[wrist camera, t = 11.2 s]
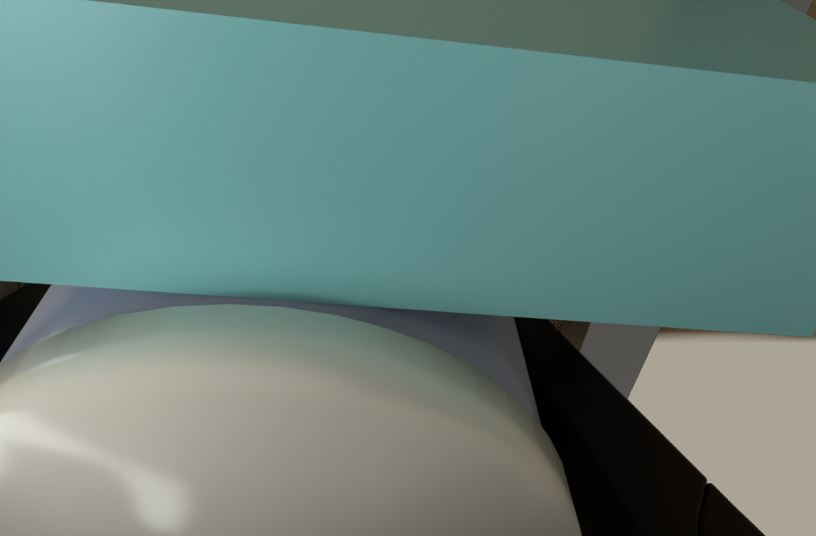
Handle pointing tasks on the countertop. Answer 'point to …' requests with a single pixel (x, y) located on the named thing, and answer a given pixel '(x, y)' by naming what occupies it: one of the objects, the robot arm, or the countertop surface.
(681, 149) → the teal foam pad
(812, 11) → the countertop surface
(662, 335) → the countertop surface
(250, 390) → the jar
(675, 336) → the countertop surface
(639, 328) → the gray u-shaped archway
